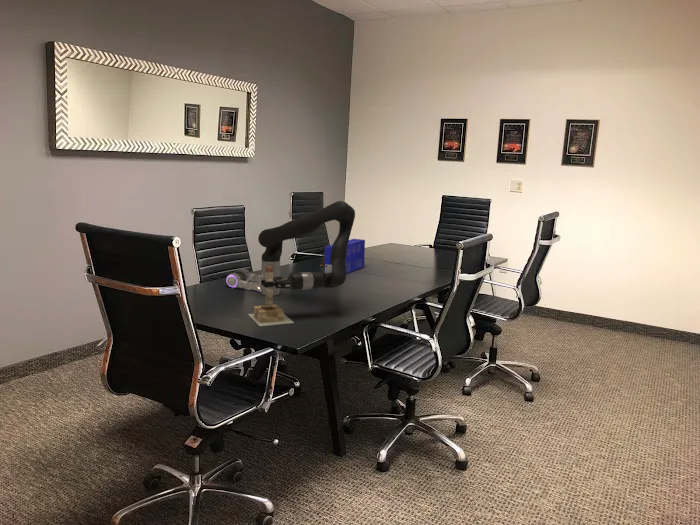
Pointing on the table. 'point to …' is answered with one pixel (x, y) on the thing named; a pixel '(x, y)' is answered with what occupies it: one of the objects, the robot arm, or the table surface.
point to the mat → (285, 321)
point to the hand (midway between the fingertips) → (262, 283)
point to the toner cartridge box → (348, 256)
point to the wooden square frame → (268, 313)
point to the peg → (269, 289)
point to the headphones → (244, 280)
